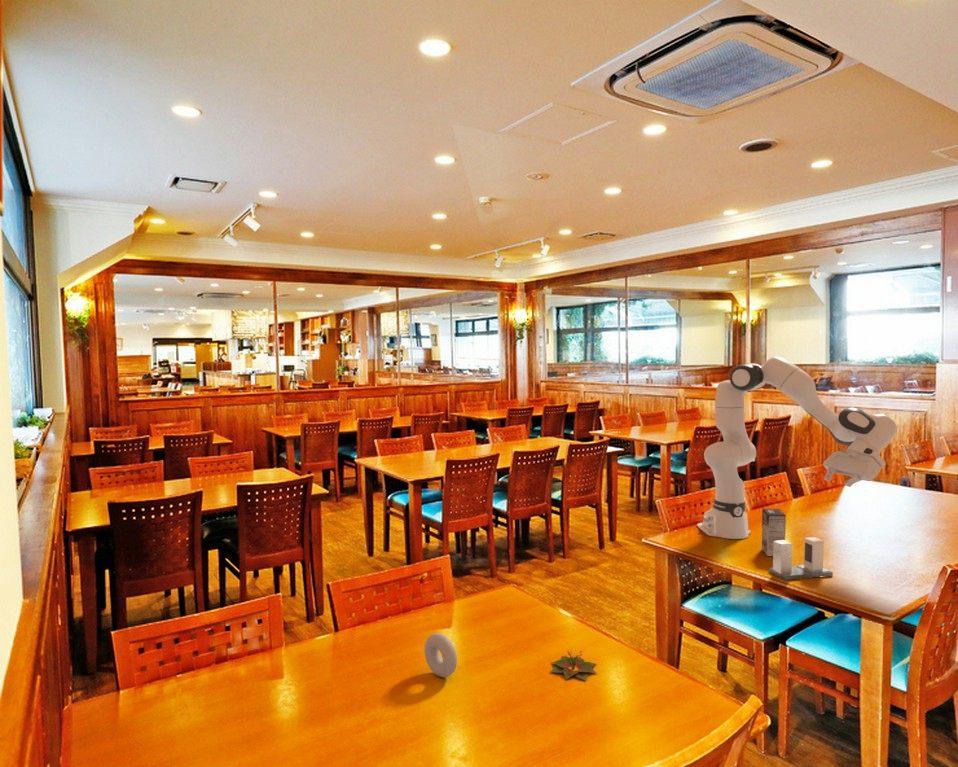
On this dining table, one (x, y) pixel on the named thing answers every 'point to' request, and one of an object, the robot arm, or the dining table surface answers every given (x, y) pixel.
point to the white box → (813, 553)
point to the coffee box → (772, 528)
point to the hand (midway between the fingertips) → (836, 482)
